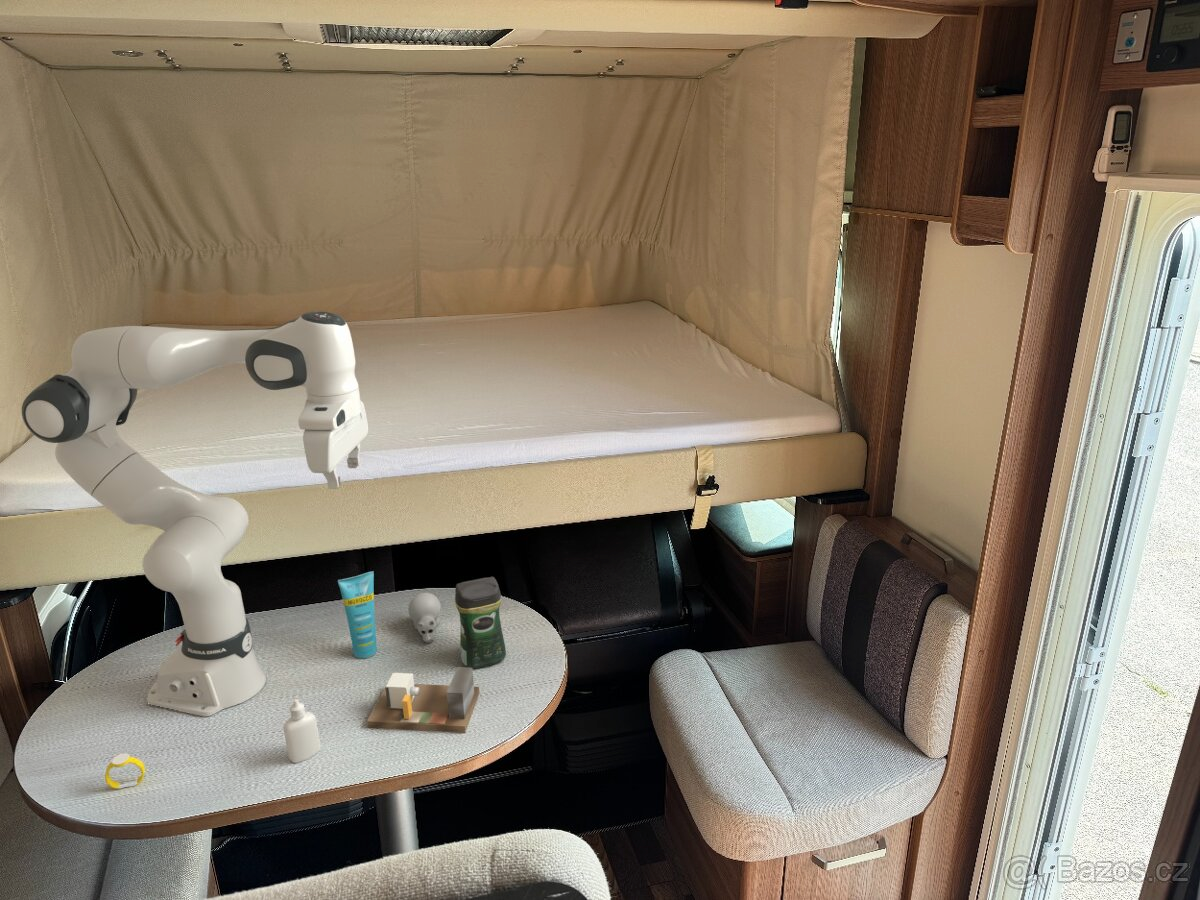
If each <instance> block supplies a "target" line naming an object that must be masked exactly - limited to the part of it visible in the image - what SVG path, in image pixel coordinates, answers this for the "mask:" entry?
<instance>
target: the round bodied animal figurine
mask: <svg viewBox="0 0 1200 900" xmlns="http://www.w3.org/2000/svg"><path fill="white" fill-rule="evenodd" d="M441 609H442V605H441V602H440V600H439V599H438V596H436V595H434V594H433V593H431V592H421V593H418V594H416V595H414V596H413V597H412V598H411V600H410V601H409V604H408V614H409V617H410V619H411V620H412V621H413V627H414V629H416V630H417V631H418V633H419V634H420V635H421V637H422V640H423V642H425V643H426V644H427V643H428V644H429V643H432V642H434V641H435V639H436V638H435V637H436V630H437V627H439V625H440V623H441V620H440V618H439V617H440V614H441V612H442V610H441Z"/></svg>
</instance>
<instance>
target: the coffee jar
mask: <svg viewBox="0 0 1200 900" xmlns="http://www.w3.org/2000/svg"><path fill="white" fill-rule="evenodd" d="M454 593H455V595H454V603H455V607H456V609H457V611H458V613H459V621H460V624H459V625H460V632H459V633H460V634H459V635H460V636H459V637H460V638H459V639H460V640H459V650H460V651H459V654H460V658H461V659H460V660H461V661H462V663H463V665H464V666H465V667H467V668H472V669H478V668H483V667H488V666H493V665H496V664H499V663H500V662H502V661H504V660H505V659H506V656H507V649H506V643H505V639H504V633H503V629H502V623H501V618H500V617H501V615H500V606H501V603H502V593H501V590H500V587H499V584H498V581H497V579H496V578H495V577H494V576H490V577H482V578H476V579H472V580H466V581H462V582H460V583H459V582H458V583H456V585H455V592H454Z"/></svg>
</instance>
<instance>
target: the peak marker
mask: <svg viewBox="0 0 1200 900" xmlns="http://www.w3.org/2000/svg"><path fill="white" fill-rule="evenodd" d="M402 705H403V713H404V719H409V718H410V716H411V714H412V704H411V696H410V695H405V696H404V698H403V700H402Z"/></svg>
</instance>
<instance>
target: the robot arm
mask: <svg viewBox="0 0 1200 900" xmlns="http://www.w3.org/2000/svg"><path fill="white" fill-rule="evenodd" d="M355 355H356V354H355V348H354V343H353V339H352V334H351V331H350V328H349V325H348V323H347V322H346V320H345V319H344V318H343V317H341V316H340V315H339V314H336V313H331V312H328V311H310V312H309V311H308V312H305V313H303V314H301V315H300V316H299V317H296V318H293V319H291V320H288V321H286V322H284V323H283V324H281V325H278V326H275V327H269V328H238V329H211V330H210V329H197V328H196V329H195V328H179V327H164V326H149V325H146V326H145V325H125V326H113V327H105V328H99V329H94V330H90V331H87V332H84V333H82V334H80V335H79V336H78V337H77V339H75V341H74V343H73V345H72V348H71V355H70V356H71V363H72V364H71V365H72V366H71V369H70V370H68V371H66V372H64V373H62V374H57V373H56V374H55V375H53V376H52V377H50V378H49V379H47V380H46V381H44V382H42V383H41V384H39V385H38V386H37V387H35V389H33V390H32V391H30V393H28V395H27V396H26V397H25V399H24V400H23V402H22V405H21V417H22V420H23V423H24V424H25V426H26V428H27V429H28V430H29V432H31V434H32V435H33V436H35V437H36V438H38V439H39V440H41V441H44V442H47V443H51V444H56V447H55V451H54V455H55V459H56V461H57V463H58V464H59V466H60V467H61V468H62V469H63V470H64V471H65V472H66V473H67V475H69V477H70V478H71V479H72V480H74V482H75V483H76V484H77V485H79V486H80V487H81V489H82V490H84V492H86V493H87V494H88V495H90V496H91V497H92V498H93V499H95V500H96V501H97V502H98V503H100V504H101V505H102V506H103V507H105V508H106V509H107V510H108V511H110V512H111V513H112V514H114V515H115V516H116V517H118V518H119V519H120V520H121V521H122V522H124V523H126V524H129V525H135V526H136V525H138V526H139V525H147V526H151V527H155V528H157V529H160V530H162V531H164V532H162V533H161V534H160V535H159V536H158V537H156V538H155V540H154V541H153V543H152V544H151V545H150V547H149V548H148V549H147V551H146V553H145V554H144V556H143V558H142V570H143V574H144V575H145V577H146V579H147V580H148V581H149V582H150V583H151V584H152V585H153V586H154V587H156V588H157V589H160V590H161V591H165V592H169V593H171V594H172V595H173V596H174V598H175V601H176V602H177V604H178V606H179V610H180V613H181V617H182V621H183V625H184V629H183V630H182V631H181V632H180V635H179V636H178V637H177V638H176V639H175V641H174V642H175V643H176V644H175V646H176V647H177V646H179V644H180V643H181V642H182V643H181V645H180V646H179V647H178V648H177V649H176V650H174V651H173V652H172V653H171V654H170V655H169V656H167V658H166V659H165V660H164V661H163V663H162V664H161V665H160V667H159V670H158V672H157V674H156V675H157V677H156V678H157V679H156V681H155V682H154V684H153V685H152V686H151V688H150V689H149V691H148V693H147V697H146V700H147V704H148V703H149V704H151V705H150V706H152V705H156V706H155V707H157V706H160V707H159V708H161V707H165V708H164V709H166V708H170V709H169V710H171V709H174V710H173V711H176V710H178V711H177V712H181V711H183V712H182V713H185V712H186V713H187V714H191V715H196V716H201V717H211V716H213V715H214V714H217V713H218V712H221V711H222V710H224V709H227V708H231V707H234V706H236V705H237V706H238V704H241V703H244V702H246V701H249V699H251V698H252V697H254V696H255V695H257V694H258V693H259V692H260V691H261V690H262V689H263V687H264V686H265V684H266V680H267V676H266V673H265V672H264V670H263V668H262V666H261V664H260V663H259V660H258V658H257V656H256V653H255V651H254V646H253V636H252V630H251V626H250V622H249V619H248V618H247V616H246V612H245V607H244V602H243V598H242V597H243V596H242V592H241V589H240V587H239V585H237V584H236V583H235V582H234V581H232V580H229V579H226V578H225V577H224V576H223V572H222V569H221V567H222V562H223V560H224V558H226V557H227V556H228V555H229V554H230V553H231V552H232V551H233V550H234V549H235V548H236V547H237V546H239V545H240V542H241V541H242V539H243V538H244V537H245V534H246V532H247V530H248V527H249V524H250V521H249V515H248V512H247V510H246V509H245V507H244V506H243V505H242V504H241V503H240V502H239V501H237V500H236V499H234V498H232V497H229V496H221V495H220V496H217V495H216V496H215V495H211V494H210V495H209V494H205V493H202V492H200V491H198V490H195V489H192V488H190V487H188V486H186V485H184V484H182V483H180V482H177V481H176V480H175V479H173V478H171V477H170V476H168V475H167V474H165V473H164V472H163V471H161V470H160V469H159V468H158V467H156V466H155V465H154V464H153V463H152V462H150V461H149V460H148V459H146V458H145V457H144V456H142V455H141V454H140V453H139V452H138V451H136V450H135V449H134V448H133V447H131V446H130V445H129V444H128V443H126V442H125V440H123V439H122V438H121V437H120V436H119V434H118V431H117V426H121V425H123V424H125V423H126V422H127V421H128V420H127V419H128V417H129V413H130V410H131V409H132V407H133V405H134V403H135V401H136V398H137V396H138V389H139V390H155V389H161V388H162V389H163V388H168V387H173V386H174V387H175V386H178V385H181V384H182V383H185V382H187V381H190V380H192V379H194V378H196V377H198V376H200V375H202V374H205V373H207V372H211V371H212V370H215V369H217V368H221V367H225V366H231V365H240V364H243V365H244V364H245V368H246V371H247V373H248V374H249V376H250V378H251V379H252V380H253V381H254V382H255V383H256V384H257V385H259V386H260V387H262V388H264V389H266V390H272V391H280V390H286V389H291V388H296V387H299V386H302V387H304V388H305V391H306V398H307V399H306V400H305V405H304V407H303V410H302V411H301V413H300V415H299V417H298V422H297V423H298V427H299V429H300V430H304V431H303V434H302V440H303V449H304V454H305V459H306V463H307V467H308V468H309V470H310V471H311V473H313V474H323V476H324V477H325V480H326V481H327V487H328V488H329V490H337V489H338V488H339V487H340V486H341V485H342V482H341V477H340V476H338V474H337V471H338V466H339V465H340V464H341V463H342V462H343V460H344V459H346V463H347V468H348V469H356V468H358V466H360V452H361V442H362V441H363V440H364V439H365V438H366V437H367V436H368V434H369V422H368V418H367V417H368V416H367V412H366V408H365V403H364V402H363V401H362V400H361V394H360V387H359V382H358V379H357V377H356V374H355V373H356V372H355V371H356V370H355V369H356V356H355ZM346 457H347V458H346ZM149 704H148V705H149Z"/></svg>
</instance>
